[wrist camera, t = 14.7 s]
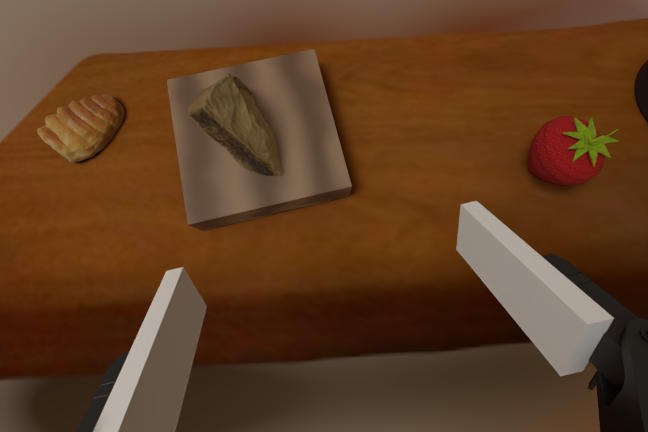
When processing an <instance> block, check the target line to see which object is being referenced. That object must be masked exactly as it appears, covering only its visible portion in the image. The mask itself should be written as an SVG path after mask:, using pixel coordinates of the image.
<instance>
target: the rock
mask: <svg viewBox="0 0 648 432" xmlns="http://www.w3.org/2000/svg"><path fill="white" fill-rule="evenodd" d="M188 115H189V116H190V117H191V118H192V119H193V120H194V121H195V122H196V123H197V125H198V126H199V127H200V128H201V129H202V130H203V131H204V132H205V133H206V134H207V135H208V136H210V137H211V138H212V139H213V140H215V141H216V142H218V143H219V144H220V145H221V146H223V147H224V148H226V150H227V151H228V153H229V154H230V155H231V156H232V157H233V158H234V159H235V160H236V162H237V163H239V164H240V165H241V166H242V167H243V168H244V169H246V170H249V171H252V172H255V173H258V174H262V175H268V176H272V175H279V176H280V175H282V174H283V170H282V169H281V167H280V159H279V150H278V142H277V140H276V138H275V136H274V134H273V131H272V129H271V128H270V127H269V125H268V123H266V122H265V120H264V118H263V115H262V113H261V112H260V110H259V109H258V108H257V107H256V106H255V100H254V94H253V92H252V91H251V89H250V88H249V87H248V86H247V85H246V84H244V83H242V82H241V80H240V79H239V78H237V77H236V76H231V74H230V73H229V74H227V75H226V76H225V77H223V78H222V79H221V80H219V81H217V82H216V83H215V84H213V85H212V86H210V87H208V88H206V89H204V90H202V91H201V93H200V96H198V97H197V98H196V99H195V100H194V101H193V103H192V104H191V105H190V106H189V110H188Z"/></svg>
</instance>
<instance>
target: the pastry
mask: <svg viewBox="0 0 648 432" xmlns="http://www.w3.org/2000/svg"><path fill="white" fill-rule="evenodd" d="M124 115H125V112H124V108H123V106H122V105H121V104H120V103H119V102H118V101H116V100H115V99H114V98H113V97H112V96H111V95H110V94H99V95H94V96H85V97H84V98H83V99H82V100H73V101H72V102H71V103H70V105H65V106H62V107H58V109H57V113H56V114H50V115H48V116H46V118H45V120H46V125H45V126H43V127H41V128H38V131H37V132H38V134H39V135H40V137H41V138H42V139H43V140H44V142H45V143H47V144H48V145H50V146H51V147H52V148H53V149H54V150H56V151H57V152H58V153H60V154H61V155H62V156H63V157H65V158H66V159H68V160H69V161H70V162H78V161H82V160H85V159H89V158H92V157H94V155H95V154H96V153H97V152H99V151H101V150H102V149H103V148H104V147H105V146H106V145H107V144H108V142H109V141H110V140H111V139H112V137H113V136H114V134H115V133H116V132H117V130H118V129H119V127H120V126H121V124H122V121H123V118H124Z"/></svg>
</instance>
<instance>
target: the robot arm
mask: <svg viewBox="0 0 648 432" xmlns="http://www.w3.org/2000/svg"><path fill="white" fill-rule="evenodd" d="M635 90H636V98H637V102H638V105H639V107H640V109H641V111H642V113H643V115H644V117H645V118H646V120H647V121H648V61H647V62H646V63H645V64H644V65H643V66H642V68H641V69H640V71H639V73H638V76H637V79H636V87H635ZM456 249H457V251H458V252H459V253H460V254H461V256H462V257H463V258H464V259H465V260H466V262H467V263H468V264H469V265H470V267H471V268H472V269H473V270H474V271H475V273H476V274H477V275H478V276H479V278H480V279H481V280H482V281H483V282H484V284H485V285H486V286H487V287H488V288H489V290H490V291H491V292H492V293H493V295H494V296H495V297H496V298H497V299H498V301H499V302H500V303H501V304H502V306H503V307H504V308H505V309H506V310H507V312H508V313H509V314H510V315H511V316H512V318H513V319H514V320H515V321H516V323H517V324H518V325H519V326H520V327H521V329H522V330H523V331H524V332H525V334H526V335H527V336H528V337H529V338H530V340H531V341H532V342H533V343H534V344H535V346H536V347H537V348H538V349H539V351H540V352H541V353H542V354H543V355H544V357H545V358H546V359H547V360H548V362H549V363H550V364H551V365H552V366H553V367H554V369H555V370H556V371H557V373H558V374H559V375H560V376H564V375H568V374H572V373H576V372H581V371H583V370H584V368H585V367H586V365H587V363H588V362H589V361H590V362H591V363H592V364H593V365H594V366H595V367H596V368H597V369H598V370H597V372H596V373H595V375H594V376H593V378H592V380H591V381H590V383H589V387H588V389H590V390H593V389H594V387H595V386H596V385H597V397H598V408H599V420H600V432H648V319H640V318H639V317H637V316H636V315H635V314H633V313H632V312H631V311H629V310H628V309H627V308H626V307H624V306H623V305H622V304H621V303H619V302H618V301H617V300H616V299H614V298H613V297H612V296H611V295H609V294H608V293H607V292H606V291H604V290H603V289H602V288H600V287H599V286H598V285H597V284H595V283H592V281H591V280H590V279H589V278H588V277H587V276H585V275H584V274H581V272H580V271H579V270H578V269H577V268H575V267H574V266H573V265H572V264H570V263H569V262H568V261H566V260H563V259H561V258H559V257H557V256H555V255H553V254H549V255H544V256H541V255H540V254H538V253H537V252H536V251H535V250H534V249H532V248H531V247H530V246H529V245H528V244H527V243H525V242H524V241H523V240H522V239H521V238H520V237H518V236H517V235H516V234H515V233H514V232H513V231H511V230H510V229H509V228H508V227H507V226H505V225H504V224H503V223H502V222H501V221H500V220H498V219H497V218H496V217H495V216H494V215H493V214H491V213H490V212H489V211H488V210H487V209H486V208H484V207H483V206H482V205H481V204H480V203H479V202H477V201H474V202H470V203H465V204H461V207H460V217H459V228H458V238H457V248H456ZM206 308H207V306H206V304H205V303H204V301H203V299H202V298H201V296H200V294H199V293H198V291H197V289H196V288H195V286H194V284H193V283H192V281H191V279H190V278H189V276H188V275H187V273H186V271H185V270H184V268H183V267H182V268H177V269H173V270H169V271H166V273H165V275H164V278H163V280H162V282H161V284H160V286H159V289H158V291H157V293H156V295H155V297H154V299H153V302H152V304H151V306H150V308H149V310H148V313H147V315H146V317H145V319H144V321H143V324H142V326H141V328H140V330H139V332H138V334H137V337H136V339H135V341H134V343H133V345H132V348H131V350H130V352H127V353H123V354H120V355H119V356H118V357H117V358H116V359H115V361H114V362H113V363H112V364H111V365H110V367H109V368H108V369H107V371H106V373H105V375H104V377H103V379H102V381H101V383H100V387H98V389H97V391H96V393H95V395H94V400H92V401H91V403H90V405H89V407H88V410H87V411H86V413H85V415H84V417H83V419H82V421H81V423H80V425H79V427H78V429H77V432H175V430H176V426H177V422H178V418H179V414H180V410H181V406H182V402H183V398H184V394H185V390H186V386H187V382H188V379H189V375H190V370H191V367H192V363H193V359H194V355H195V351H196V347H197V343H198V339H199V335H200V331H201V327H202V323H203V319H204V315H205V311H206Z"/></svg>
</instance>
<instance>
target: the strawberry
mask: <svg viewBox="0 0 648 432" xmlns="http://www.w3.org/2000/svg"><path fill="white" fill-rule="evenodd" d="M616 131H618V129H617V130H615V131H613V132H612V133H610V134H608V135H607V136H606V135H602V136H600V135H599V134H598V132H597V131H596V130H595V126H594V123H593V120H592V118H590V121H589V124H588V123H587V122H585V121H583V120H581V119H578V118H575V117H571V116H561V117H559V118H556V119H553V120H551V121H548V122H547V123H545V124H544V125H543V126H542V128H541V129H540V130H539V132H538V133H537V134H536V136H535V137H534V139H533V141H532V144H531V148H530V153H529V165H528V169H529V171H530V173H531V174H533V175H535V176H537V177H539V178H540V179H542V180H545V181H548V182H551V183H554V184H557V185H576V184H582V183H585V182H587V181H588V180H590V179H591V178H593V177H594V176H595V175H597V174H598V173H599V172H600V170H601V168H602V166H603V162H604V156H607V157H609V158H611V157H610V155H609V153H608V151H607V149H606V146H605V143H611V142H618V140H616V139H613V138H611V137H608V136H609V135H611V134H613V133H614V132H616Z"/></svg>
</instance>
